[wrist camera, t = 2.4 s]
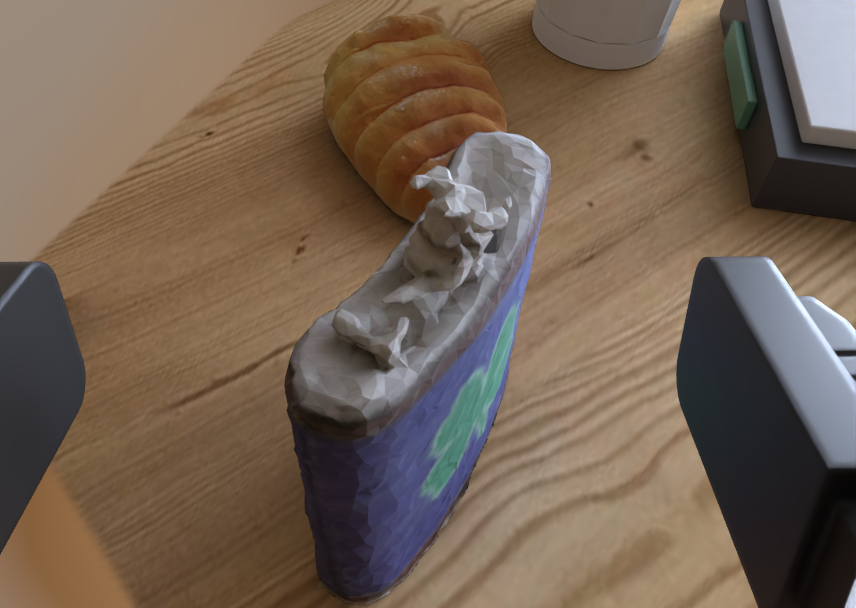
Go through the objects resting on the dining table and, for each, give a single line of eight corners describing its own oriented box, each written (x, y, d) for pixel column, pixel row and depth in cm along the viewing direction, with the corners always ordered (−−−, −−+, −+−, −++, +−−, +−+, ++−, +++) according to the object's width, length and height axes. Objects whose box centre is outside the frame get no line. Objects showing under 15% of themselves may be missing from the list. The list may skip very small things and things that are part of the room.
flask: (449, 332, 26) (488, 46, 18) (531, 370, 26) (612, 89, 17) (290, 577, 21) (239, 333, 13) (387, 633, 20) (402, 413, 12)
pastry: (549, 221, 30) (569, 140, 27) (375, 260, 28) (375, 179, 25) (460, 74, 35) (468, -6, 32) (310, 100, 34) (303, 18, 31)
